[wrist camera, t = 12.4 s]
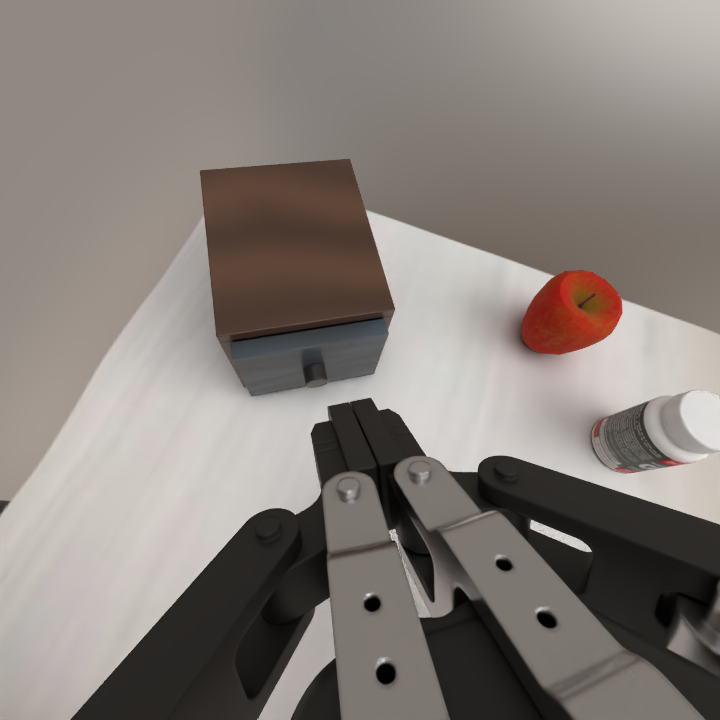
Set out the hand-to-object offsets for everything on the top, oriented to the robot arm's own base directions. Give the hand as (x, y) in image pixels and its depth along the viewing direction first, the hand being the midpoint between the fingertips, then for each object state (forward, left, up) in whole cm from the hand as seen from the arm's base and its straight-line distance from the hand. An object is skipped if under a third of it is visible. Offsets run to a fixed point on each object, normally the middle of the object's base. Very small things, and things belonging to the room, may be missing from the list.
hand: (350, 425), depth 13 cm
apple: (+17, +15, -17) cm, 29 cm away
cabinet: (-5, +14, -17) cm, 23 cm away
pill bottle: (+23, +6, -17) cm, 30 cm away
